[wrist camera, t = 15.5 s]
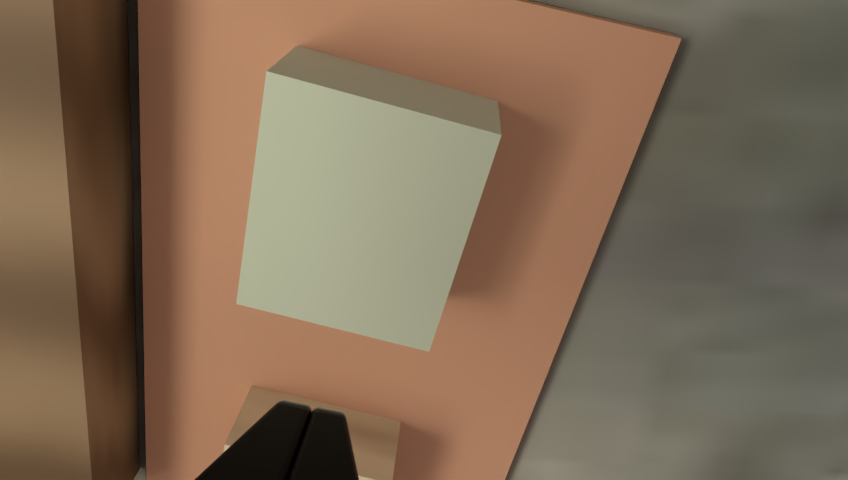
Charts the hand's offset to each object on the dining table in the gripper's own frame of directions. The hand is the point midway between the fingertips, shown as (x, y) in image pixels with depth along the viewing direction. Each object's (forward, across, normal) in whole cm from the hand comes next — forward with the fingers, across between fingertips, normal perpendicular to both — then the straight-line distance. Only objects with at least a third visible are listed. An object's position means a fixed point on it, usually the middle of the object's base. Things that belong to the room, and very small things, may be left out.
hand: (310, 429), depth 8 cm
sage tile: (+7, 0, +1) cm, 7 cm away
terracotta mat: (+10, 0, +6) cm, 11 cm away
